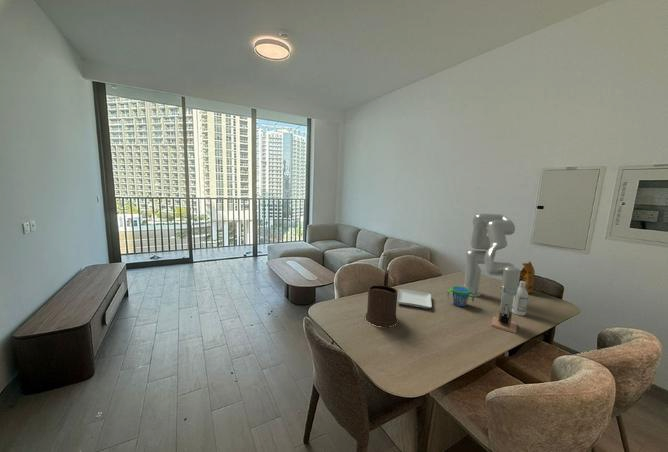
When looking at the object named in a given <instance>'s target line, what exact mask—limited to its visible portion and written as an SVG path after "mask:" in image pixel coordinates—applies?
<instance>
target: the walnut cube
mask: <svg viewBox="0 0 668 452" xmlns="http://www.w3.org/2000/svg"><path fill="white" fill-rule="evenodd" d="M502 314H503V310H500V309H499V313H498V318H499V320H498V322H500V323H501V317H502ZM507 314H508V312H507ZM512 314H513V312H512V311H511V312H509V316H508V317H509V319H508V324H507V325H510V324H511V321H512V317H513V315H512Z"/></svg>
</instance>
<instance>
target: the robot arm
mask: <svg viewBox="0 0 668 452" xmlns="http://www.w3.org/2000/svg"><path fill="white" fill-rule="evenodd" d="M472 225H473V231H472V235H471V238H470V247H471V248H472V249H469V250H466V252H465V272H464V281H463V284H456V286H458V287H464V288H467V289H469V290H470V291H471V292H472V293H473V294H474V298H476V297H480V296H481V292H480V291H479V290H480V283H481V281H480V280H481V274H482V271H481V267H480V266H479V265H484V267H485V270H486V273H487V274H488V275H490V276H495V277H496V276H498V277H501V282H500V289H499V290H500V292H501V298H500V304H499V305H500V306H499V311H500V310H503V314H502V317H501V323H504V324H508V319H509V317H508V316H509V312H512V304H513V299H514V295H517V291H518V284H519V277H520V271H521V270H520V268H519V267H516V266H515V265H514V264H513V263H510V262H501V261H495V258H496V257H495V256H496V253H497V251H498V250H502V249H504V248H506V247H507V246H508V241H507V237H506V236H511V235H514V233H515V231H516V227H515V223H514V222H513V221H512V220H511V219H509V218H508V217H507V216H505V215H504V214H496V213H478V214H477V213H476V214H475V215H474V217H473V219H472ZM472 293H470V295H469V297H473V295H472ZM507 312H508V314H507Z"/></svg>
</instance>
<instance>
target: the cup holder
mask: <svg viewBox="0 0 668 452" xmlns="http://www.w3.org/2000/svg"><path fill="white" fill-rule="evenodd" d="M389 273H390V271H389V269H385V271H384V280H383V285H379V284H378V285H370V286H369V287H368V289H367V290H368V291H367V309H366V310H367V311H366V313H365V315H366V316H365V315H364V318H365V317H366V320H367V321H368V322H370V323H371V324H374V325H376V326H381V327H390V326H393V325H395V324H396V323H397V320H398V318H397V306H398V305H397V304H398V302H397V297H398V290H397V289H396V288H394V287H391V286H389ZM366 320H365V321H366ZM397 324H398V323H397ZM395 326H396V325H395ZM393 327H394V326H393ZM390 328H391V327H390Z"/></svg>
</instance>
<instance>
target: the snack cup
mask: <svg viewBox="0 0 668 452" xmlns="http://www.w3.org/2000/svg"><path fill="white" fill-rule="evenodd" d="M451 291H452V303H453V305H455V306H457V307H463V308H464V307H465V306H466V305H467V303H468V300H469V297H470V296H469V295H470V293H472V292H471V291H470V290H469V289H467V288H464V287H458V286H457V285H456V286H452V287H451V288H450V289H448V290H447V293H446V295H447V297H446V298H448V299H449V295H450V292H451ZM472 295H473V296H472V297H471V298H472V299H471V301H472V302H474V300H475V297H474V294H473V293H472Z"/></svg>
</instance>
